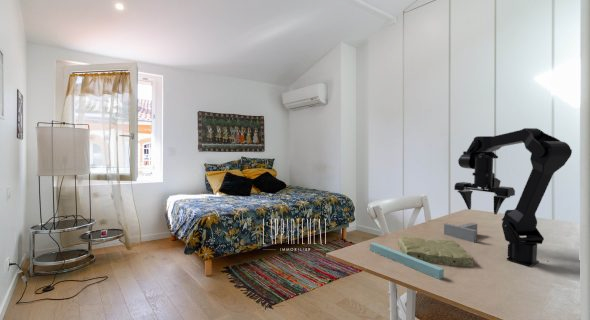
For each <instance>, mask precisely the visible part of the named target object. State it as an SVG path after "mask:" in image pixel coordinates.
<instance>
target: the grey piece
mask: <svg viewBox="0 0 590 320" xmlns="http://www.w3.org/2000/svg"><path fill="white" fill-rule="evenodd" d="M443 235H445V236H449V237H452V238H455V239H459V240H463V241H467V242H469V243H474V244H475V243H476V242H477V235H478V223H474V222H468V223H465V224H461V225H455V224H451V223H448V222H446V223H443Z"/></svg>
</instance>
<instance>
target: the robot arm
mask: <svg viewBox="0 0 590 320" xmlns="http://www.w3.org/2000/svg"><path fill="white" fill-rule="evenodd" d="M518 144H524V147H525V149H526V150H527V151H528V152H529V153H530V158H529V160H530V162H531V166H532V169H531V171H530V174H529V176H528V178H527V181H526V184H525V186H524V188H523V190H522V192H521V194H520V198H519V200H518V202H517V203H516V204H517V205H516V207H515V208H514V209H506V210H505V211H504V215H503V218H501V221H502V222H501V227H502V231H503V235H504V239H505V241H506V242H508V244H507V257H506V261H509V262H510V261H511V262H513V263H517V264H520V265H523V266H527V267H533V266H535V265H537V264H538V263H540V261H539V260H538V258H537V257H538V245H542V244H543V242H544V240H545V238H544V236H543V234H541V233H540V230H538V228H537V225H538V220H537V217H536V212H537V210H538V209H539V206H540V204H541V202H542V199H543V197H544V195H545V193H546V191H547V189H548V187H549V184H550V182H551V179H552V178H553V176H554V174H555V173H556V172H557V171H559V170H560V169H561V168H563V167H564V166H565V165H566V163H567V162H568V160H569V159H570V158H571V156H572V153H573V152H572V151H573V149H571V146H570V145H569V144H568V143H567V142H565V141H561V140H560V139H558V138H556V137H554V136H552V135H550V134H548V133H545V132H544V131H542V130H541V129H539V128H537V127H533V128H531V127H529V128H528V127H527V128H526V127H524V128H522V129H520V130H514V131H510V132H506V133H502V134H498V135H493V136H489V135H487V136H485V135H484V136H475V137H474V138H473V140H472V142H471V143H470V145H469V147H468V148H467V149H466V151H464V150H463V151H462V154H461V155H460V157H459V158H458V160H457V162H458V165H459V167H460V168H463V169H470V170H474V172H472V176H474V177H473V183H472V182H465V181H462V182H460V181H459V182H456V183H455V184H454V187H453V188H454V189H453V190H454V191H457V193H459V194H460V196H461V197H462V199H463V201H464V204H465V205H466V207H467V209H468V210H471V209H472V194H473V192H474V191H478V192H484V193H485V192H486V193H494V194H495V195H493V214H494V215H497V214H498V212H499V210H500V209H501V207H502V204H503V203H504V202H505V200H506V199H509V198H511V197H514V196H516V190H515V189H514V187H512V186H501V180H500V179H499V178H497V177H495V176H496V175H495V172H494V159H498V158H499V156H498V154H496V153H495V152H496V151H498V150H500V149H501V148H503V147H507V146H508V147H509V146H512V145H518Z"/></svg>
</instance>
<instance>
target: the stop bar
mask: <svg viewBox="0 0 590 320" xmlns="http://www.w3.org/2000/svg"><path fill="white" fill-rule="evenodd" d="M370 250H371V252H374V253H375V254H378V255H380V256H382V257H384V258H388V259H390V260H392V261H395V262H397V263H399V264H402V265H404V266H406V267H409V268H412V269H413V270H415V271H419V272H421V273H423V274H426V275H428V276H431V277H433V278H436V279H437V280H441V279H443V278H444V277H445V276H444V274H445V272H444V271H445V269H444V268H443V267H440V266H437V265H435V264H434V263H429V262H425V261H422V260H419V259H417V258H414V257H411V256H409V255H406V254H404V253H402V251H398V250H396V249H393V248H390V247H388V246H385V245H382V244H379V243H377V242H375V241H374V242H370V243H369V251H370Z"/></svg>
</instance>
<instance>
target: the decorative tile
mask: <svg viewBox="0 0 590 320" xmlns="http://www.w3.org/2000/svg"><path fill="white" fill-rule="evenodd" d="M397 243H398V244H397V245H398V247H400V248H399V250H400V252H401V253H404V254H406V255H409V256H411V257H414V258H417V259H419V260H422V261H425V262H427V263H430V264H438V265H447V266H458V265H460V266H461V267H462V266H463V267H470V268H471V267H473V268H474V259H473V257H472V255H470V254H469V253H468V252H467V251H466V249H465V248H464V247H463V246H460V244H459V243H458V242H456V241H455V240H448V239H440V238H423V237H422V238H421V237H408V236H400V237H398V238H397ZM460 266H459V267H460Z"/></svg>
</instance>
